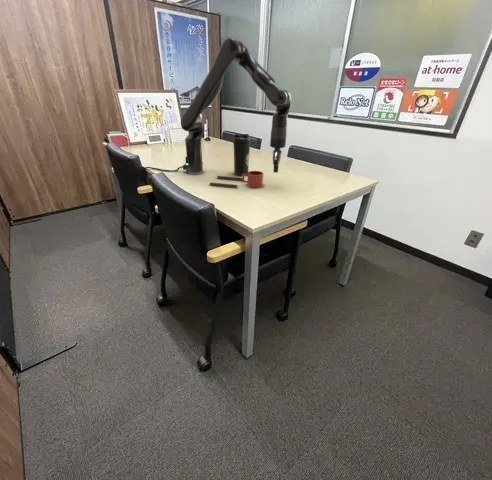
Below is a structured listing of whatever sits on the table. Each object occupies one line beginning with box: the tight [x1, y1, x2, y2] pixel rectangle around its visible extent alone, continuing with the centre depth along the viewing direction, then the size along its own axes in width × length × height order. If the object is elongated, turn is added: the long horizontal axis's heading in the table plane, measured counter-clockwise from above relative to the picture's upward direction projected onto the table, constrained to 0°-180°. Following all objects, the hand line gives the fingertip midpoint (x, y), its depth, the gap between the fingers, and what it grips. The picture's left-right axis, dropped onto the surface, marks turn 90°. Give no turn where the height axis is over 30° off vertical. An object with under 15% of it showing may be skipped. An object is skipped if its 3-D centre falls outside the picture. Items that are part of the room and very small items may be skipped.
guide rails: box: [209, 175, 242, 189], centre depth 147 cm, size 15×14×2 cm
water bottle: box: [232, 133, 252, 177], centre depth 156 cm, size 10×10×23 cm
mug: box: [241, 170, 264, 189], centre depth 142 cm, size 11×8×7 cm
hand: (275, 172), depth 137 cm, fingers closed
